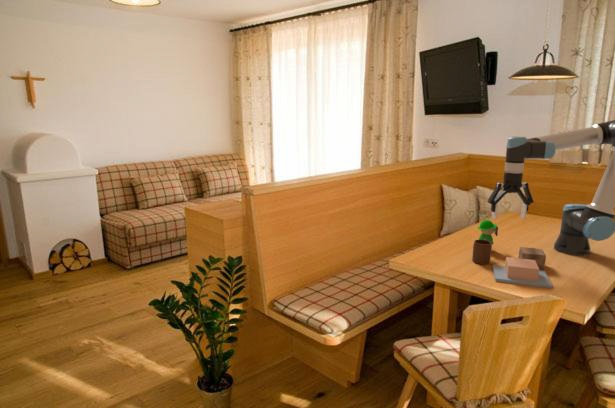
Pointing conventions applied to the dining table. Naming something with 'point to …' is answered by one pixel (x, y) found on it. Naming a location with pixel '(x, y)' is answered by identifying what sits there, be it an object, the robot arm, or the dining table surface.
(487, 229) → the toy
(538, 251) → the walnut block
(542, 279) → the plate
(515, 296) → the dining table surface
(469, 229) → the dining table surface
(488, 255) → the mug
